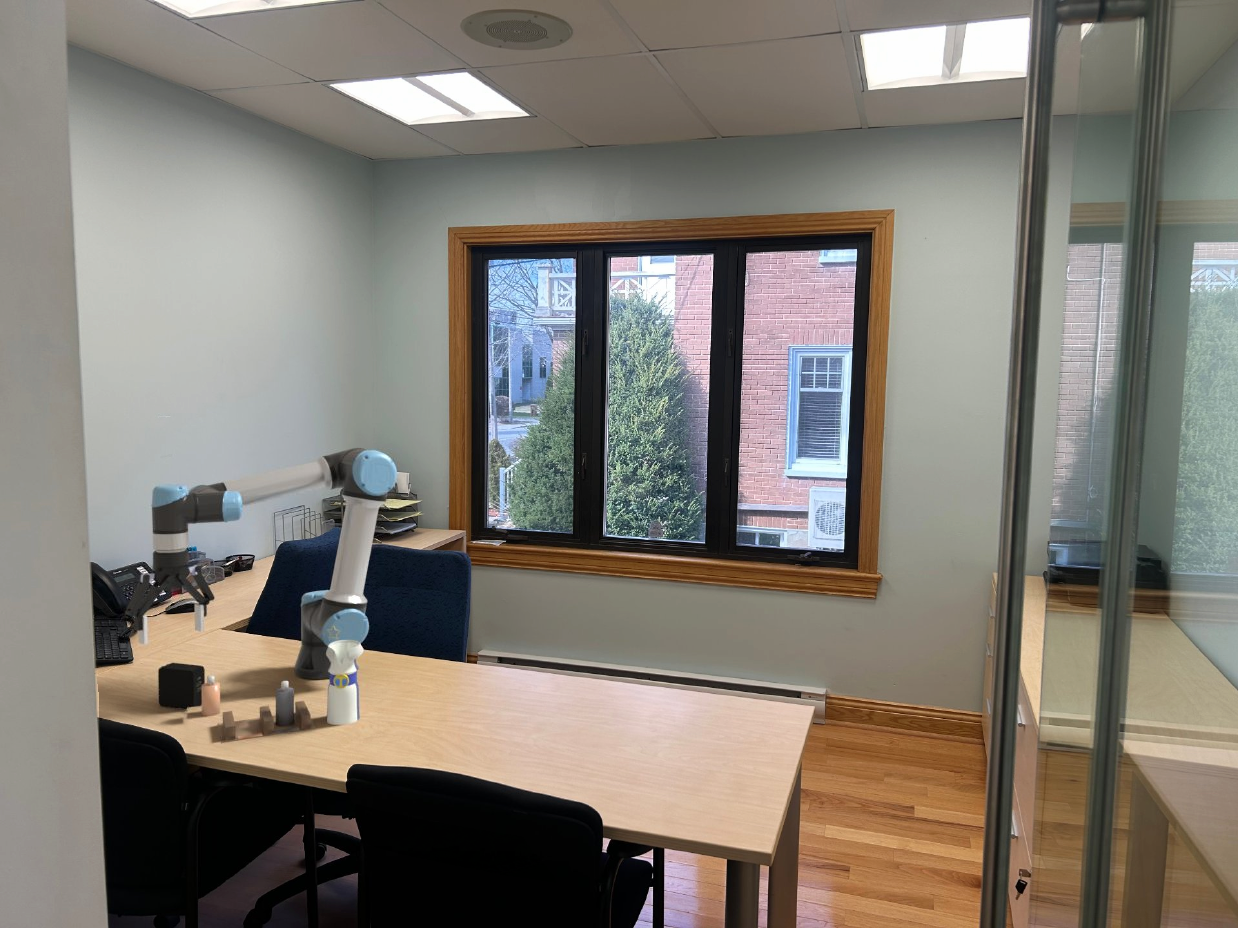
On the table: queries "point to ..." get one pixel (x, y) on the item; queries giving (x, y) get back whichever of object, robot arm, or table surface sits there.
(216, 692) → the peach bottle
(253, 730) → the rack
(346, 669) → the white costume bottle
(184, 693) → the electronic device
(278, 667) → the table surface
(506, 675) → the table surface
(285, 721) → the grey bottle
